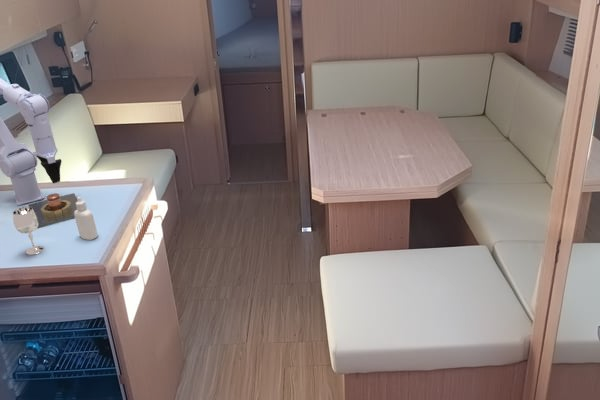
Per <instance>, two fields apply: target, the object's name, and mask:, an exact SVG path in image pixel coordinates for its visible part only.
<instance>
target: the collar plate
mask: <svg viewBox="0 0 600 400" xmlns="http://www.w3.org/2000/svg"><path fill="white" fill-rule="evenodd" d="M60 200H61V203H62V207H63V208H62V209H59V210H55V211H50V208H49V204H48V201H47V199H46V200H40V201H36V202H34V203H33V202H32V203H28V205H27V207H31V208H32V209H33V210H34V212H35V214H36V215H37V218H38V222H39V225H38V227H37V229H39V228H40V229H41V228H44V227H47V226H50V225H54V224H58V223H61V222H65V221H70V220H73V219H75V216H74V212H75V211H76V210H77V207H76V202H78V197H77V195H76V194H75V193H74V192H73V193H68V194H66V195H61V196H60Z"/></svg>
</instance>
